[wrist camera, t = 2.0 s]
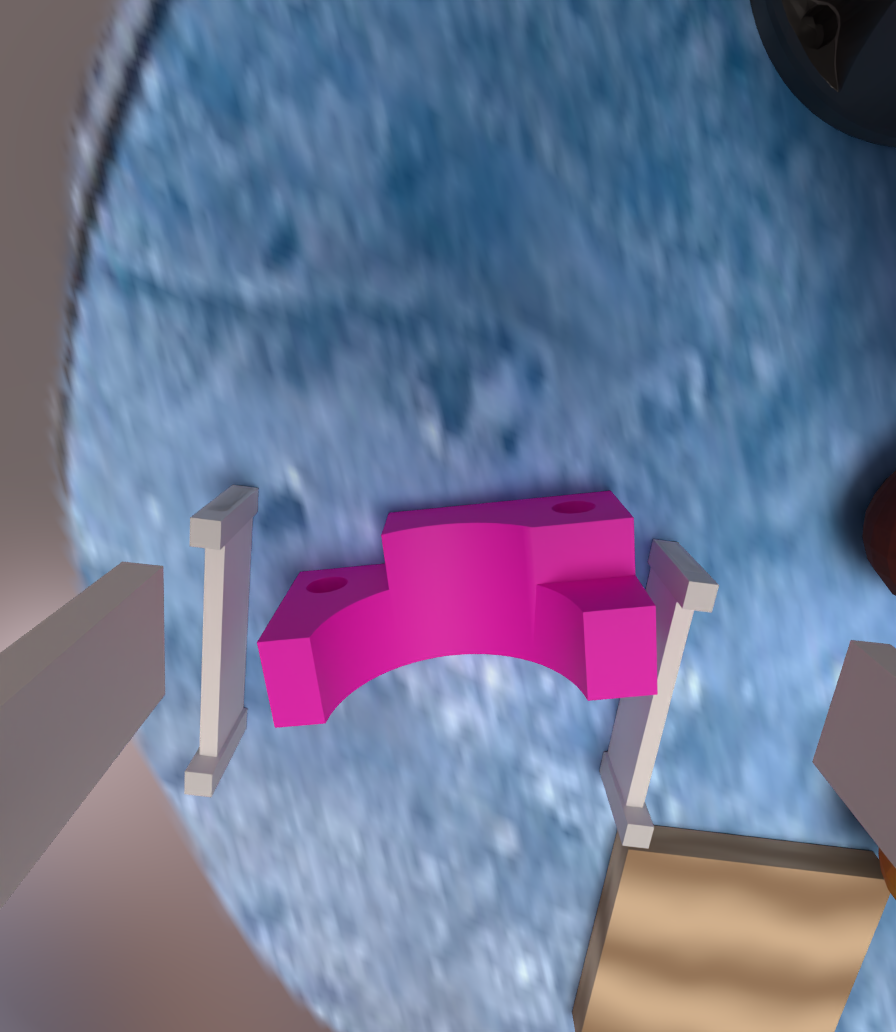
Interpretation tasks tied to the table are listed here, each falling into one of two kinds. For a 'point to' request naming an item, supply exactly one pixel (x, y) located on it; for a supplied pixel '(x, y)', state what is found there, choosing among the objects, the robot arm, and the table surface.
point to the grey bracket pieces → (225, 621)
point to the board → (728, 935)
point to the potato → (882, 532)
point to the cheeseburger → (888, 873)
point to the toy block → (471, 603)
